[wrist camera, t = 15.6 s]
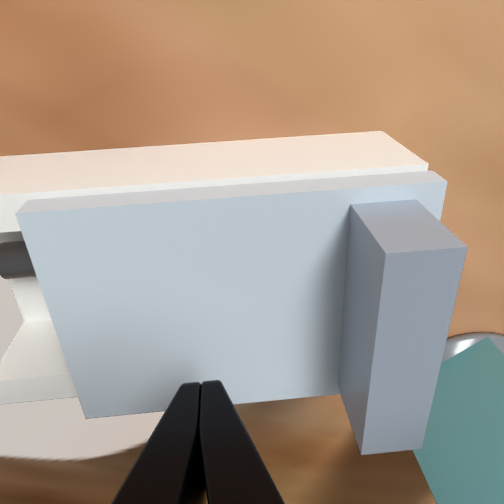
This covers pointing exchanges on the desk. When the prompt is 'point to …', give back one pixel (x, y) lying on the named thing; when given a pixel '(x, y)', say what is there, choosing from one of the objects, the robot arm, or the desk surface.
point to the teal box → (467, 429)
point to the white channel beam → (149, 179)
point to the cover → (255, 295)
